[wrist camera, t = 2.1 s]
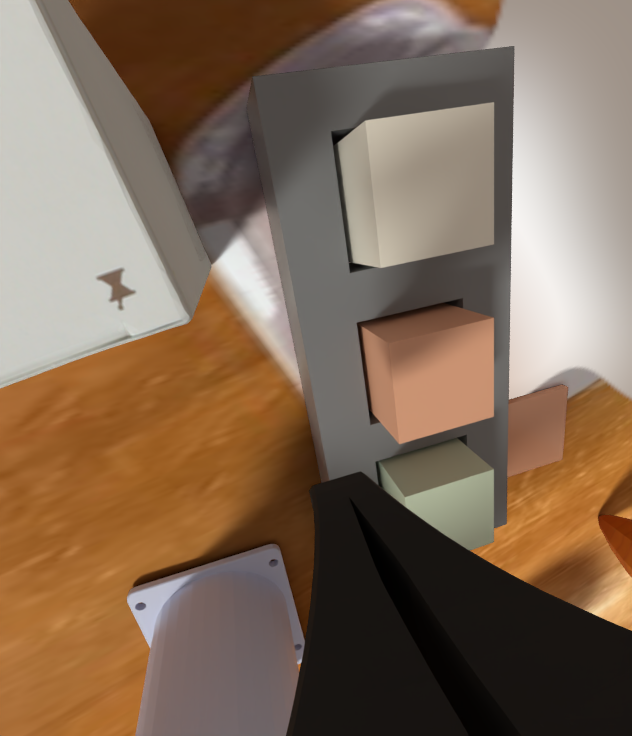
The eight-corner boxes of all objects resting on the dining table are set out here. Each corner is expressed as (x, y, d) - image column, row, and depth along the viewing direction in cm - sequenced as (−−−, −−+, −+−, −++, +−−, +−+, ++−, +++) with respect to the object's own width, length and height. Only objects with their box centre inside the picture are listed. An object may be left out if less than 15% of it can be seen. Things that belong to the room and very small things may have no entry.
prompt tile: (557, 456, 24) (562, 459, 24) (501, 473, 23) (505, 477, 23) (562, 384, 22) (568, 386, 22) (502, 401, 21) (506, 404, 21)
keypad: (472, 489, 23) (506, 524, 20) (332, 535, 22) (348, 578, 19) (462, 79, 16) (514, 46, 13) (246, 107, 14) (252, 76, 11)
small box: (151, 118, 14) (-19, -172, 4) (214, 269, 16) (206, 321, 6) (-79, 190, 13) (-1002, 49, 3) (21, 340, 15) (-345, 529, 5)
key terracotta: (445, 384, 18) (493, 416, 15) (366, 405, 17) (399, 444, 14) (441, 302, 17) (494, 317, 13) (354, 321, 16) (388, 343, 13)
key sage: (450, 493, 20) (493, 542, 17) (381, 516, 20) (412, 570, 17) (447, 429, 19) (493, 469, 16) (372, 451, 18) (404, 497, 15)
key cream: (437, 243, 16) (493, 244, 12) (346, 261, 15) (380, 268, 12) (432, 132, 14) (494, 102, 11) (331, 148, 14) (365, 120, 10)
